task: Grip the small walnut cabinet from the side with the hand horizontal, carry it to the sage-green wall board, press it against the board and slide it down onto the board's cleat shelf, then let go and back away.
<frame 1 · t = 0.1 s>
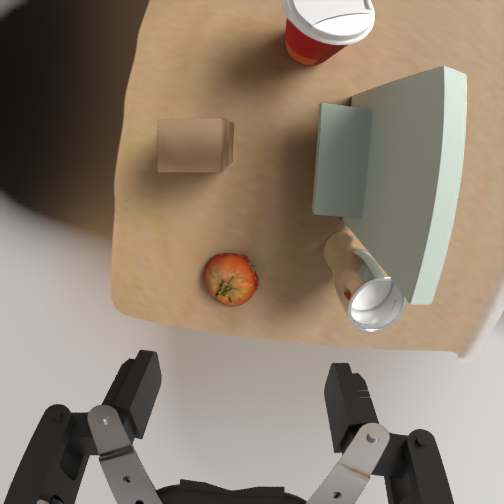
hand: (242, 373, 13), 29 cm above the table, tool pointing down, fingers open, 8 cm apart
tomato: (231, 273, 44), on the table
wall board: (354, 159, 37), on the table
beer glass: (343, 250, 42), on the table
cabinet: (209, 142, 37), on the table
coffee cup: (307, 45, 31), on the table
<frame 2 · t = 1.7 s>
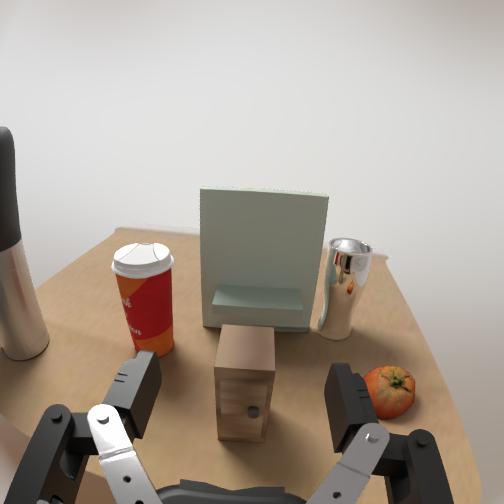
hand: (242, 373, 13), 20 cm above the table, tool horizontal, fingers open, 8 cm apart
tomato: (384, 400, 33), on the table
wall board: (255, 326, 48), on the table
beer glass: (333, 330, 48), on the table
cabinet: (242, 420, 31), on the table
coffee cup: (154, 346, 42), on the table
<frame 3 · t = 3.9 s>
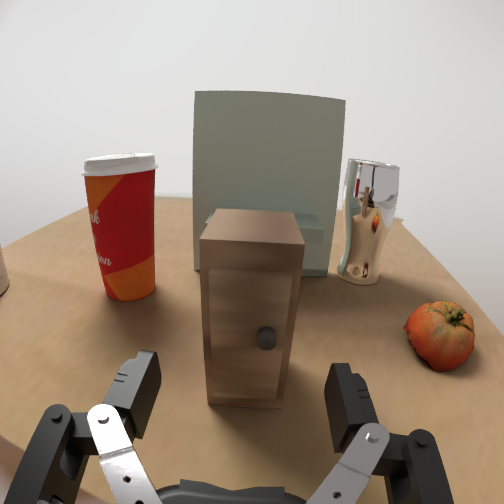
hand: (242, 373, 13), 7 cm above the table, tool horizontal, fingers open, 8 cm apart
tomato: (435, 349, 24), on the table
wall board: (260, 270, 39), on the table
beer glass: (356, 276, 39), on the table
cabinet: (246, 377, 21), on the table
coffee cup: (130, 290, 33), on the table
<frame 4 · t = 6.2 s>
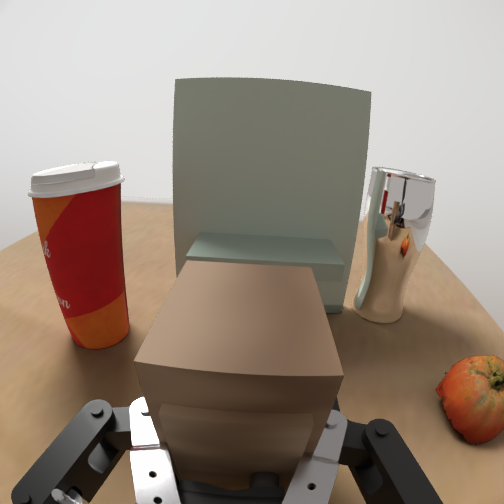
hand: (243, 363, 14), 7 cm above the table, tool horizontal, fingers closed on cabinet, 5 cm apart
tomato: (469, 412, 17), on the table
wall board: (260, 305, 31), on the table
beer glass: (376, 310, 31), on the table
cabinet: (238, 472, 14), on the table, touching gripper
coffee cup: (100, 331, 25), on the table
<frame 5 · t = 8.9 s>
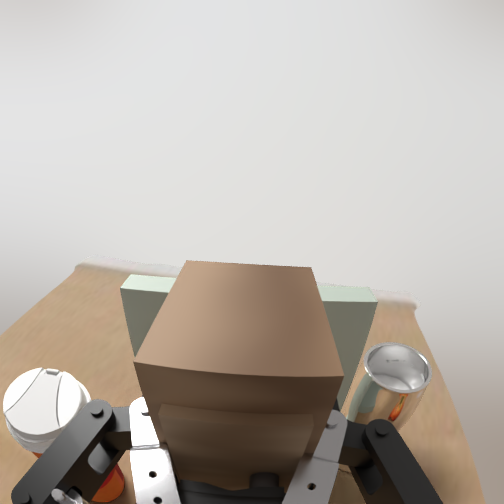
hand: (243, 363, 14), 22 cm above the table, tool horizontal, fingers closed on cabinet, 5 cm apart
wall board: (241, 455, 28), on the table
beer glass: (352, 453, 28), on the table
cabinet: (238, 472, 14), point 15 cm above the table, touching gripper
coffee cup: (100, 481, 22), on the table
when the fingers open (16 cm above the table, at t = 12.0 s): cabinet stays where it is, resting on wall board.
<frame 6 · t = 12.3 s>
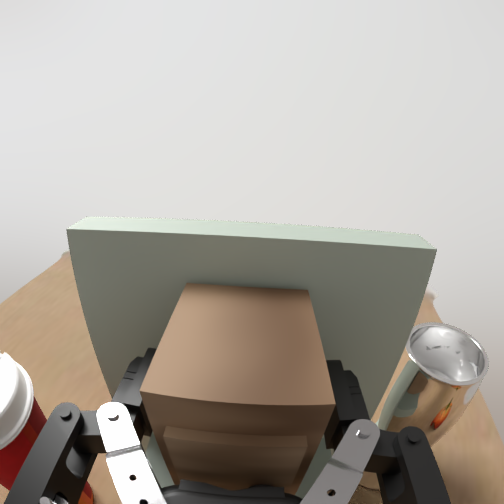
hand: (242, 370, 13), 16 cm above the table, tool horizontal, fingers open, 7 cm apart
wall board: (239, 471, 21), on the table
beer glass: (376, 465, 21), on the table
cabinet: (237, 479, 14), point 8 cm above the table, touching wall board
coffee cup: (65, 496, 15), on the table
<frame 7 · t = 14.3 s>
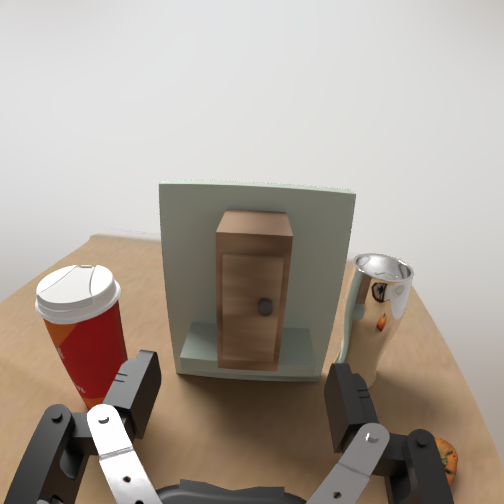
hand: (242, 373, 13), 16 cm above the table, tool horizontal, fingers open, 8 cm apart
tomato: (414, 479, 19), on the table
wall board: (247, 373, 34), on the table
beer glass: (352, 375, 34), on the table
cabinet: (248, 347, 27), point 8 cm above the table, touching wall board
coffee cup: (110, 400, 28), on the table
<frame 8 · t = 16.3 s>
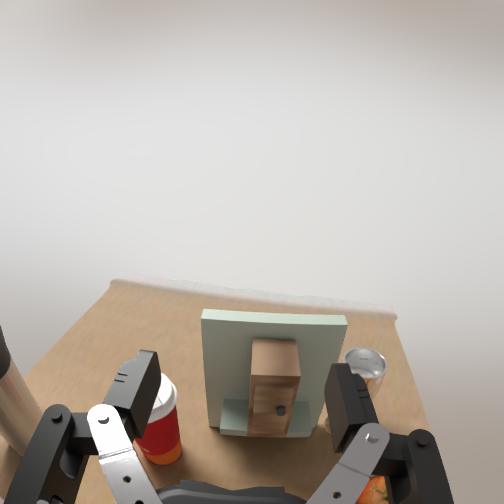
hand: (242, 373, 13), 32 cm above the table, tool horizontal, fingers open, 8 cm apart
tomato: (377, 502, 28), on the table
wall board: (262, 425, 43), on the table
beer glass: (339, 424, 43), on the table
cabinet: (266, 419, 36), point 8 cm above the table, touching wall board
coffee cup: (162, 450, 36), on the table
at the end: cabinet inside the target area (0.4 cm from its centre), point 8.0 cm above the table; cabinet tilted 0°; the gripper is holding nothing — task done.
